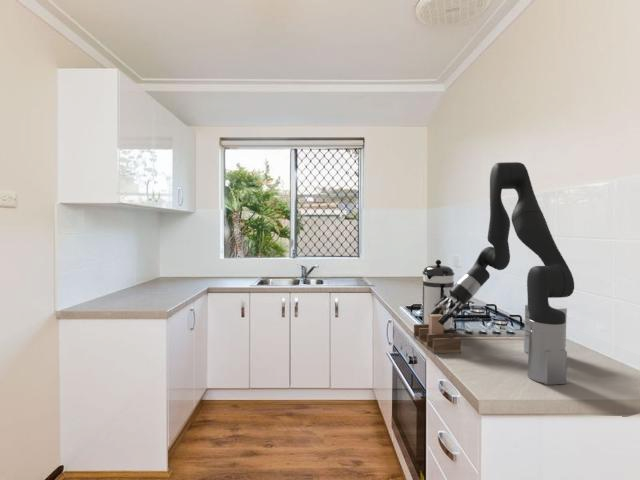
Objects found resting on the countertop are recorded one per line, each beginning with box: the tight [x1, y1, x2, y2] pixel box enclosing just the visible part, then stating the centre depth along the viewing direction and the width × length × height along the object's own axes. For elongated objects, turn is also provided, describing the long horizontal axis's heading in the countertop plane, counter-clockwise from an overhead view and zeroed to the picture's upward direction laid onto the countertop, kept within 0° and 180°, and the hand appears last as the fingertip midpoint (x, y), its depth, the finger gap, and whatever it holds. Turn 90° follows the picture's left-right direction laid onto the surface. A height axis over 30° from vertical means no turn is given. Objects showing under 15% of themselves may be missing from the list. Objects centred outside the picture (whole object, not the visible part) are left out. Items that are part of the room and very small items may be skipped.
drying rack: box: [413, 323, 462, 354], centre depth 150 cm, size 20×10×5 cm, turn 6°
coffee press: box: [421, 259, 456, 331], centre depth 169 cm, size 17×16×30 cm
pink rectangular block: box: [429, 314, 444, 334], centre depth 149 cm, size 3×4×10 cm, turn 97°
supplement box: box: [523, 304, 568, 354], centre depth 138 cm, size 10×9×17 cm
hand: (435, 320), depth 149 cm, fingers open, 8 cm apart
